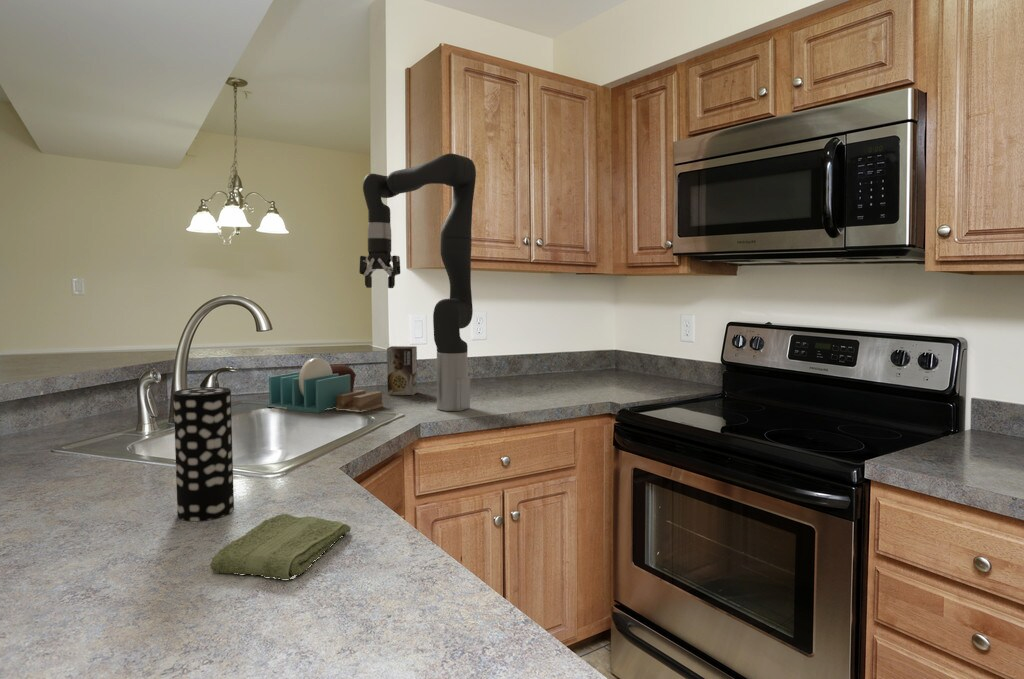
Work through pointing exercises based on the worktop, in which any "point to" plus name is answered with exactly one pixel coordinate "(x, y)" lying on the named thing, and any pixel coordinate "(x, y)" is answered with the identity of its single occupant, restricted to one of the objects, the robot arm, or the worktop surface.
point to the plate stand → (359, 400)
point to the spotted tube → (203, 453)
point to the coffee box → (402, 370)
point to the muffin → (344, 373)
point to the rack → (307, 391)
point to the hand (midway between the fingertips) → (379, 287)
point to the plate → (313, 371)
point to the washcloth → (279, 546)
